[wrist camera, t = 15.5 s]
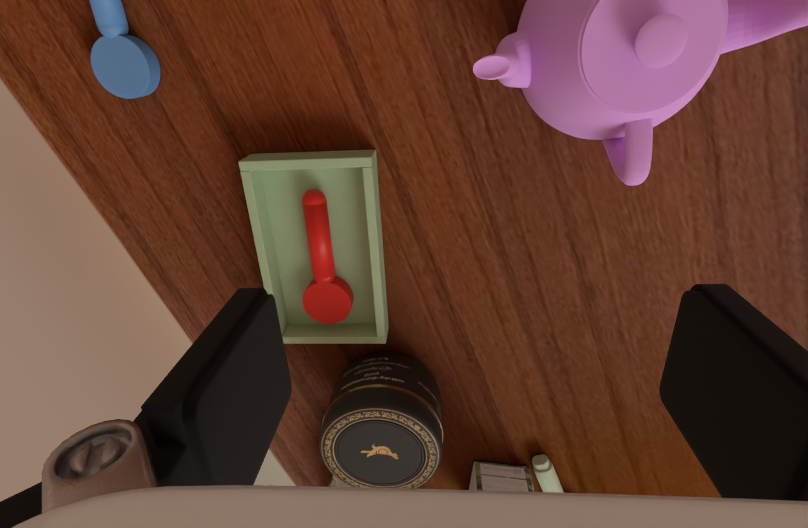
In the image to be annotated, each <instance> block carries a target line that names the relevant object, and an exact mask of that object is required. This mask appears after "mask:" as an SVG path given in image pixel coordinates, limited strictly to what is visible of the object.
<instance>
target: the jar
mask: <svg viewBox="0 0 808 528" xmlns="http://www.w3.org/2000/svg"><path fill="white" fill-rule="evenodd" d="M442 444H443V427H442V407H441V396H440V393H439V389H438V387H437V384H436V382H435V380H434V378H433V376H432V374H431V373H430V372H429V370H428V369H427V368H426V367H425V366H424V365H422V364H421V363H420V362H418V361H417V360H415V359H413V358H411V357H409V356H406V355H403V354H400V353H395V352H375V353H371V354H367V355H364V356H362V357H360V358H358V359H356V360H355V361H354V362H352V363H351V364H350V365H349V366H348V367H347V368H346V369H345V371H344V372H343V373H342V375H341V376H340V377H339V379H338V381H337V383H336V385H335V387H334V390H333V393H332V397H331V400H330V403H329V406H328V408H327V410H326V412H325V415H324V418H323V422H322V428H321V432H320V437H319V450H320V454H321V457H322V460H323V462H324V464H325V465H326V467H327V468H328V470H329V471H330V472H331V473H332V474H333V475H334V476H335V477H336V478H338V479H339V480H340V481H342V482H343V483H345V484H347V485H348V486H350V487H360V488H405V489H415V488H417V487H419V486H421V485H423V484H424V483H425V482H427V481H428V480H429V479H430V478H431V477H432V476H433V474H434V473H435V472H436V470H437V468H438V466H439V464H440V460H441V456H442Z"/></svg>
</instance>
